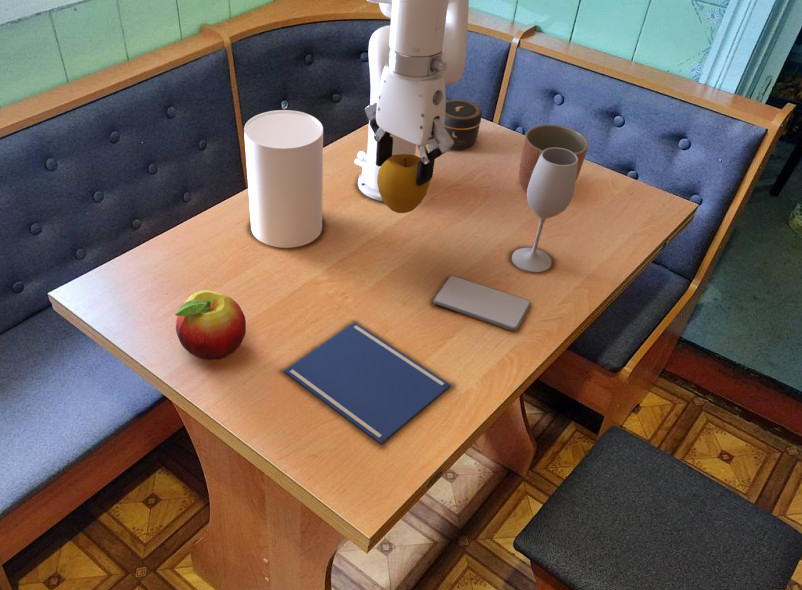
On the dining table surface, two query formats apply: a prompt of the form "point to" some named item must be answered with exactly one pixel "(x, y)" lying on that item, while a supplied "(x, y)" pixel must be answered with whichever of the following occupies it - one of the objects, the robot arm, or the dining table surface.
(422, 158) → the robot arm
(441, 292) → the smartphone
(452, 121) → the jar
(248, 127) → the canister
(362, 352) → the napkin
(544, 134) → the planter
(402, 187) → the apple
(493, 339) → the dining table surface
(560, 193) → the wineglass
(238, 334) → the fruit
